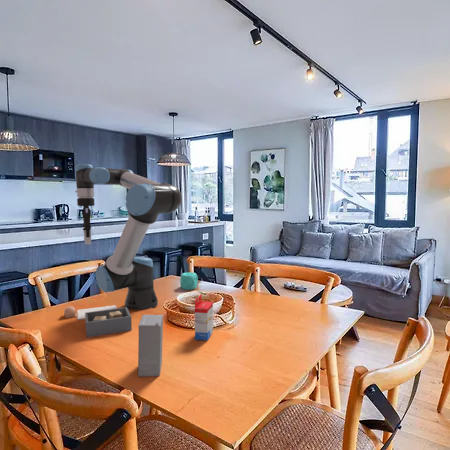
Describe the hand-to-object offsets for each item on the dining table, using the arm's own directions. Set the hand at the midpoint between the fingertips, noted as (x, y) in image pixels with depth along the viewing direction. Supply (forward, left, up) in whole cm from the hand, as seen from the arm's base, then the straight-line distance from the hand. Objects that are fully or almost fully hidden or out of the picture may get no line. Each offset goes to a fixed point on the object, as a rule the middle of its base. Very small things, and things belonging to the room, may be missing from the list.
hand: (87, 242), depth 164 cm
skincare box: (-14, +76, -30) cm, 83 cm away
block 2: (-8, +37, -29) cm, 47 cm away
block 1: (-2, +40, -29) cm, 49 cm away
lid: (0, +17, -30) cm, 34 cm away
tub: (-5, +38, -30) cm, 48 cm away
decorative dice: (-52, -6, -30) cm, 60 cm away
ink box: (-37, +59, -30) cm, 76 cm away
